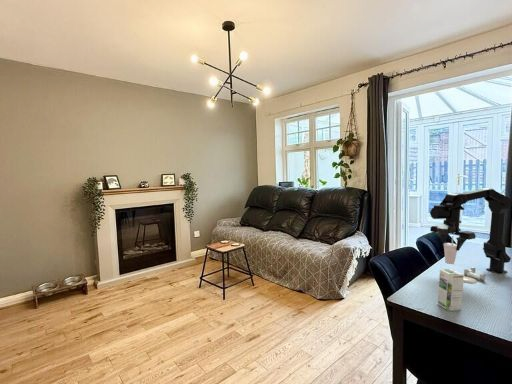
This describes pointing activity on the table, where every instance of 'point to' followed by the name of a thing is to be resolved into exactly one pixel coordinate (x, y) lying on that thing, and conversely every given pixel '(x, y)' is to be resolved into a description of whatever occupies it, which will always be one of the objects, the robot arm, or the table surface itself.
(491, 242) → the robot arm
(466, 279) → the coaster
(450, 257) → the smoothie
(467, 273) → the steel rail
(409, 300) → the table surface
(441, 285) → the syrup box
